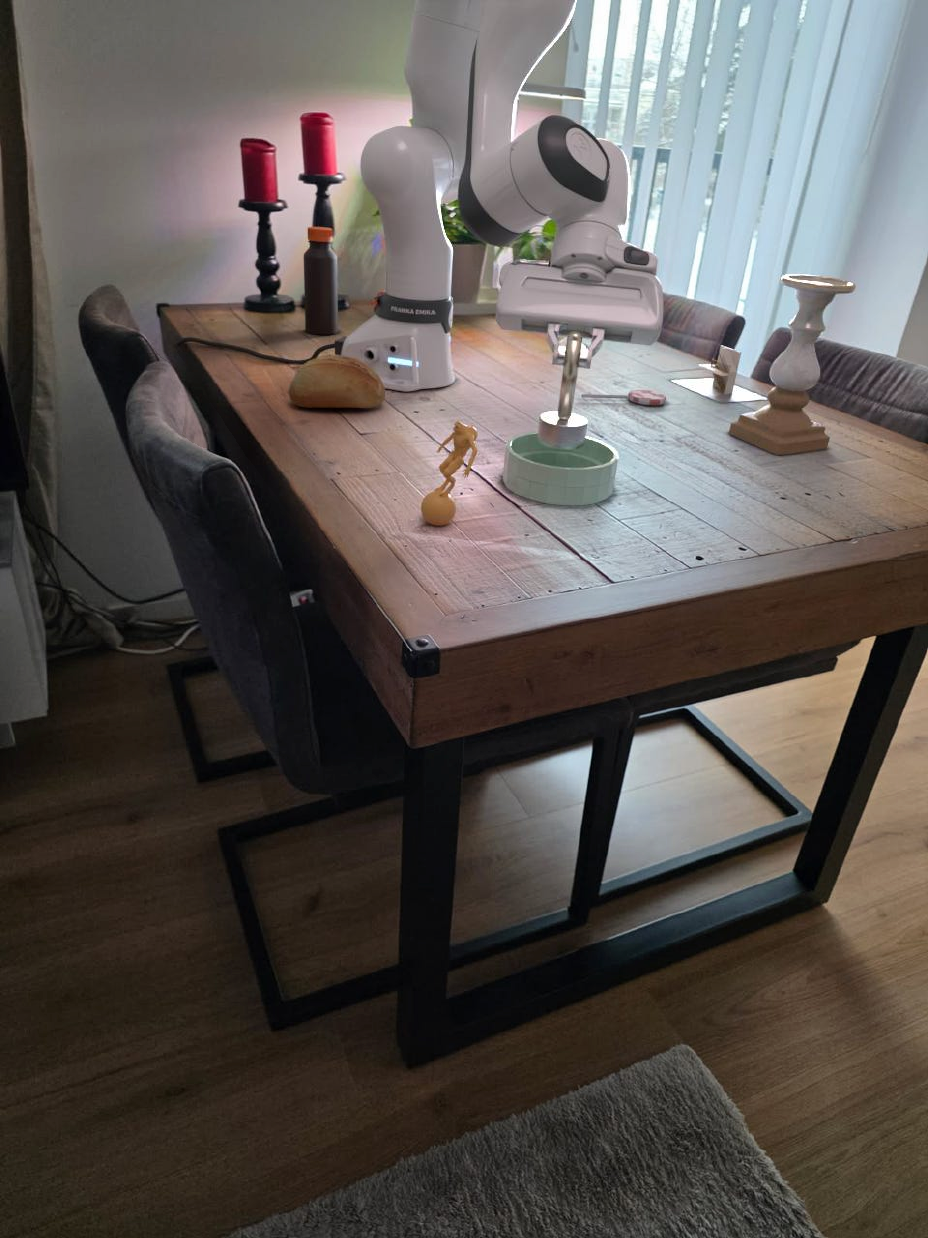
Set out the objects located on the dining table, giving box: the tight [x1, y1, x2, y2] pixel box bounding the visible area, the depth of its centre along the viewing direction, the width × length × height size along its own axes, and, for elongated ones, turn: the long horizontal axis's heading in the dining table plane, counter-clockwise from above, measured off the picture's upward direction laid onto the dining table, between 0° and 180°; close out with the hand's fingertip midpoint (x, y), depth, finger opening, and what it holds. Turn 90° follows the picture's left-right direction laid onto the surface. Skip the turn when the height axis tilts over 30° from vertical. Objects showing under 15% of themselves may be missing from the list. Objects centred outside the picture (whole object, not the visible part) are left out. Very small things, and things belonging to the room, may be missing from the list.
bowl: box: [502, 431, 619, 507], centre depth 110 cm, size 14×14×5 cm
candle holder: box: [728, 274, 857, 456], centre depth 128 cm, size 11×11×24 cm
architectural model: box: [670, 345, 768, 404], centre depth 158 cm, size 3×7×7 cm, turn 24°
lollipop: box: [581, 389, 667, 406], centre depth 148 cm, size 7×1×15 cm
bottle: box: [303, 226, 339, 336], centre depth 175 cm, size 7×7×20 cm
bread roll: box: [288, 354, 386, 409], centre depth 132 cm, size 10×15×8 cm, turn 97°
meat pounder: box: [537, 331, 589, 450], centre depth 105 cm, size 6×6×14 cm
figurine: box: [420, 420, 478, 527], centre depth 95 cm, size 8×6×12 cm
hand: (571, 364), depth 102 cm, fingers closed on meat pounder
